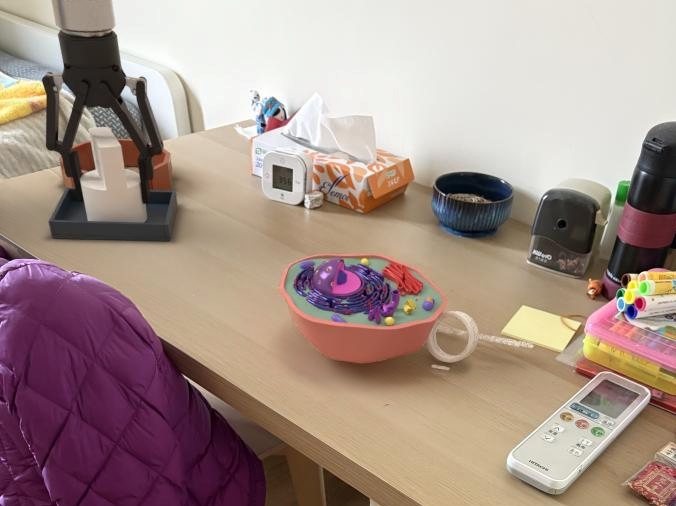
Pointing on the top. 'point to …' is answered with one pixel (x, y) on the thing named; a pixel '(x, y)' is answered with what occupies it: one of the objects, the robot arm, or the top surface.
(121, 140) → the terracotta bowl
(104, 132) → the base with upright slab
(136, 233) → the tray
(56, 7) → the robot arm
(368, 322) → the cell model
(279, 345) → the top surface
